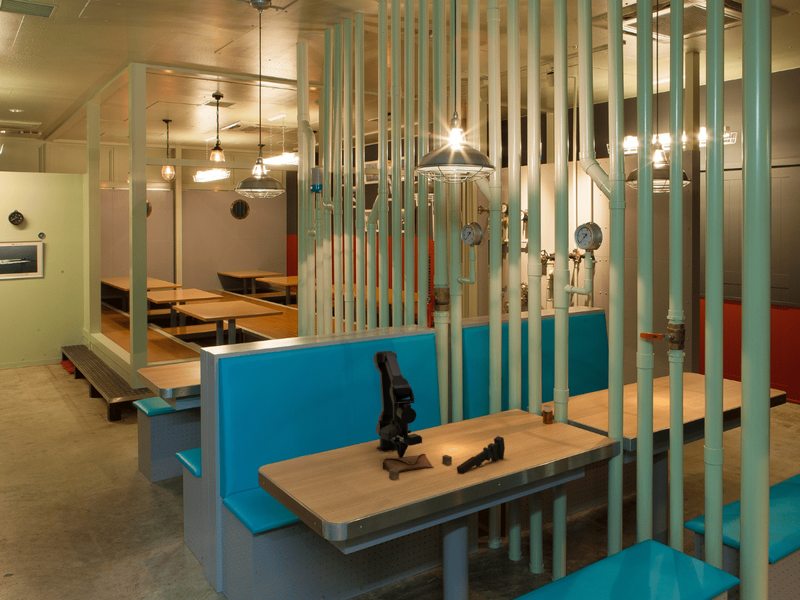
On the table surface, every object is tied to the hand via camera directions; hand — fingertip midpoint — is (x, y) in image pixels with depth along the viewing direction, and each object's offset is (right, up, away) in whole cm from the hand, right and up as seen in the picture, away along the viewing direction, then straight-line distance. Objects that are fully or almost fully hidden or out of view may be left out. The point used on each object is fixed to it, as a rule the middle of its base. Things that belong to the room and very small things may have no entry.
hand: (400, 457), depth 244 cm
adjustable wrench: (+30, -3, -2) cm, 30 cm away
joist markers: (+7, -3, -9) cm, 11 cm away
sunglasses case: (+3, -3, -4) cm, 6 cm away
